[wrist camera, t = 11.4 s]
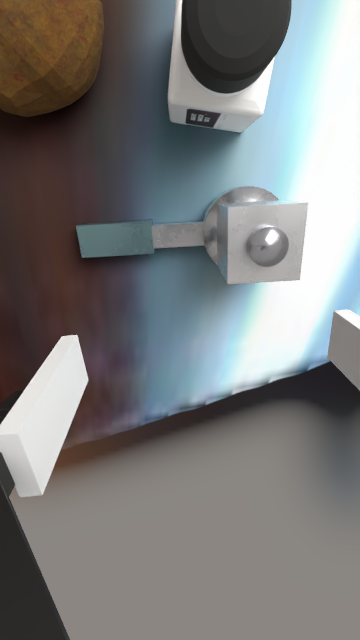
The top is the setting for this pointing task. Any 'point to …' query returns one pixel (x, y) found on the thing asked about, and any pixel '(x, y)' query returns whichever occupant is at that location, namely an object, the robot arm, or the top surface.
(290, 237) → the cube with chrome knob
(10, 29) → the potato
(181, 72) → the container
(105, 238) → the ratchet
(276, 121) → the top surface
